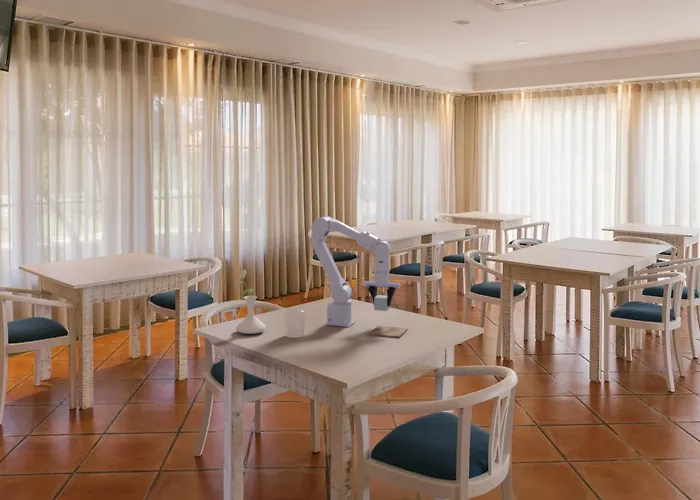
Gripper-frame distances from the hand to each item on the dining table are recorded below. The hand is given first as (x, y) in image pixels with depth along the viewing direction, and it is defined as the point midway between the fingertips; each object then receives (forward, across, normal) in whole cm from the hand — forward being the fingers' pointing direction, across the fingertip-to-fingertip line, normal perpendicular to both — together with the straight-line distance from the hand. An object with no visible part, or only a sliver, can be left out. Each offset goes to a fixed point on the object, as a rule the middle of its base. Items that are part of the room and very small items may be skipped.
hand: (382, 305), depth 250 cm
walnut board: (+8, +5, -8) cm, 13 cm away
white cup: (+9, -27, -24) cm, 37 cm away
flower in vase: (+8, -45, -26) cm, 53 cm away
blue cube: (+2, 0, 0) cm, 2 cm away
